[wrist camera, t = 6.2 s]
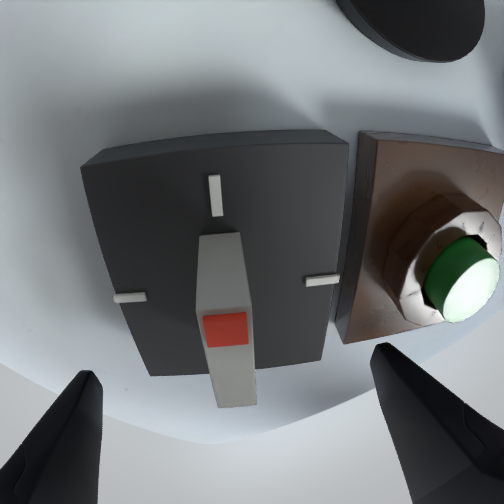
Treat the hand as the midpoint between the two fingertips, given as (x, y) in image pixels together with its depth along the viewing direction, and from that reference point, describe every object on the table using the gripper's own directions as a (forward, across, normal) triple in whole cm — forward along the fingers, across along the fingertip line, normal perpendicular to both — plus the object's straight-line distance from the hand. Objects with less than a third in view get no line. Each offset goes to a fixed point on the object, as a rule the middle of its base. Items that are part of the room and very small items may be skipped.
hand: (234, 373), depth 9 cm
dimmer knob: (+4, 0, 0) cm, 4 cm away
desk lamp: (+6, -8, -13) cm, 17 cm away
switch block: (+7, -10, 0) cm, 12 cm away
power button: (+3, -10, 0) cm, 11 cm away
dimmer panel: (+6, 0, 0) cm, 7 cm away
